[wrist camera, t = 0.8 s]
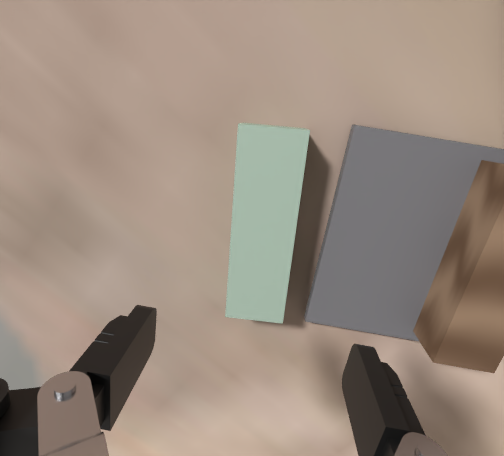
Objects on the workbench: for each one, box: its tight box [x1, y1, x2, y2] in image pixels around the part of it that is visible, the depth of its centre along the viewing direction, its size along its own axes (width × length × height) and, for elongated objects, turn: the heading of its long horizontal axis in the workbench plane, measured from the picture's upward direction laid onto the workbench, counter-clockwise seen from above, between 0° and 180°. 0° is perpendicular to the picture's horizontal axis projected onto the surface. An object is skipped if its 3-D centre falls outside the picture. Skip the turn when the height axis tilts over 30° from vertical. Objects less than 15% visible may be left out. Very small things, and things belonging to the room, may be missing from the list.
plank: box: [225, 123, 310, 324], centre depth 26 cm, size 16×5×4 cm, turn 175°
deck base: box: [304, 125, 504, 341], centre depth 27 cm, size 18×15×1 cm
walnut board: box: [413, 160, 504, 373], centre depth 25 cm, size 16×5×4 cm, turn 171°
